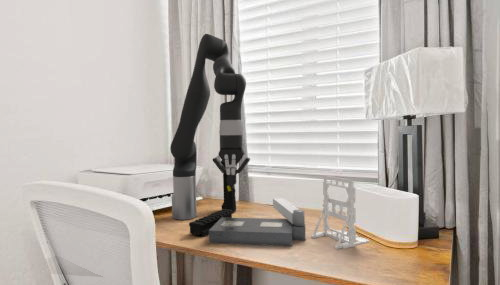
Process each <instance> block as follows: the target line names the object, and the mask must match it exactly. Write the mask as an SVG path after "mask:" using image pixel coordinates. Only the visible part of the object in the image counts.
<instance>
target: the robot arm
mask: <svg viewBox="0 0 500 285" xmlns="http://www.w3.org/2000/svg"><path fill="white" fill-rule="evenodd" d="M195 58H196V59H195V62H194V67H193V70H192V71H193V72H192V75H191V78H190V81H189V85H188V88H187V91H186V95H185V97H184V102H183V105H182V110H181V114H180V118H179V124H178V126H177V129H176V131H175V134H174V136H173V138H172V141H171V144H170V148H169V150H170V153H171V155H172V157H173V158H174V164H173V165H174V166H173V169H172V186H173V191H172V192H173V194H172V195H171V216H172V219H175V220H180V221H181V220H182V221H184V220H192V219H196V218H197V217H198V216H197V215H198V214H197V213H198V211H197V175H196V172H197V145H196V142H195V137H196V132H197V129H198V126H199V124H200V123H201V121H202V119H203V116H204V114H205V111H206V110H207V107H208V104H209V101H210V96H211V89H210V85H209V81H208V79H207V78H208V77H207V74H206V60H209V61H213V64H212V71H213V73H214V76H215V77H214V82H213V88H214V91H215V93H216V94H218V95H221V96H233V99H232V100H230V101H226V102H222V103H221V104H220V105H219V132H218V133H219V151H218V155H216V157H213V158H212V162H213V163H214V165H215V166H216V167H217V169H218V170H219V171H220V172H221V173H222V174H223V173H225V174H227V183H228V184H229V186H235V185H236V184H237V174H241V172H242V171H243V170H244V169H245V167H246V166H247V165H248V164H249V162H250V161H251V158H250V157H248V156H246V155H245V152H244V150H243V125H242V104H243V99H244V95H245V93H246V92H245V91H246V87H247V81H246V78H245V76H244V75H243V74H241V73H236V70H235V68H234V65H232V62H231V56H230V49H229V45H228V43H227V42H226V41H225V40H223V39H221V38H219V37H217V36H215V35H212V34H209V33H205V34H203V36H202V37H201V39H200V41H199V44H198V50H197V52H196V57H195ZM221 161H223V162H224V163H225V166H226V168H225V167H224V166H223V165H222V163H221ZM240 161H241V162H242V163H241V165H239V167H238V164H239V163H240ZM231 164H232V170H231Z"/></svg>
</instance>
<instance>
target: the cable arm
mask: <svg viewBox="0 0 500 285" xmlns="http://www.w3.org/2000/svg"><path fill="white" fill-rule="evenodd" d="M272 208H274V210H276V211H277V212H278V213H279V214H280V215H282V216H283V217H284V219H287V220H288V221H289V222H291V223H292V224H294V225H296V226H303V225H305V226H306V221H305V220H306V218H305V210H304V209H300V208H298V207H297V206H295V205H293V204H292V202H289V201H288V200H286V198H284V197H274V198H272Z"/></svg>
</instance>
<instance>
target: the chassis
mask: <svg viewBox="0 0 500 285" xmlns="http://www.w3.org/2000/svg"><path fill="white" fill-rule="evenodd" d="M294 241H306V224H305V225H303V226H296V225H294V224H292V223H291V222H289V221H288V220H287V219H286V218H262V217H261V218H259V217H232V218H224V217H221V218H220V219H219V220H218V222H217V223H216V224H215V225H214V226H213V227H212V228H211V229H210V230H209V235H208V243H209V244H221V245H222V244H223V245H224V244H225V245H249V246H251V245H252V246H274V247H275V246H278V247H280V246H281V247H293V242H294Z"/></svg>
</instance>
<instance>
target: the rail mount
mask: <svg viewBox="0 0 500 285" xmlns="http://www.w3.org/2000/svg"><path fill="white" fill-rule="evenodd" d="M232 212H233V211H232V210H228V209H222V208H221V209H220V210H218V211H214V212H213V213H211V214H207V215H206V216H203V217H200V218H198V219H195V220H193V221H190V222H189V223H188V225H189V234H191V236H194V235H202V236H201V238H205V237H207V236H209V230H210V229H211V228H212V227H213V226H214V225H215V224H216V223H217V222H218V220H219V219H220V218H221V217H224V218H233V213H232Z"/></svg>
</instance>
